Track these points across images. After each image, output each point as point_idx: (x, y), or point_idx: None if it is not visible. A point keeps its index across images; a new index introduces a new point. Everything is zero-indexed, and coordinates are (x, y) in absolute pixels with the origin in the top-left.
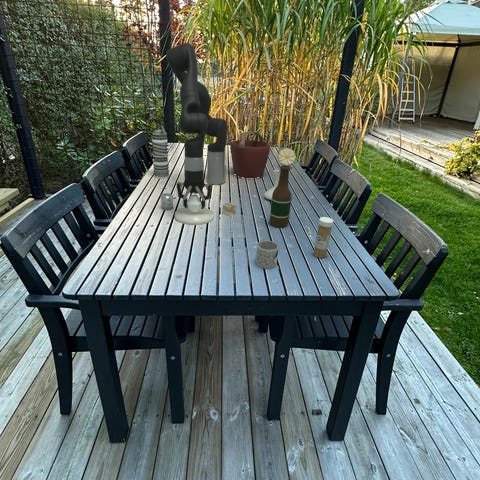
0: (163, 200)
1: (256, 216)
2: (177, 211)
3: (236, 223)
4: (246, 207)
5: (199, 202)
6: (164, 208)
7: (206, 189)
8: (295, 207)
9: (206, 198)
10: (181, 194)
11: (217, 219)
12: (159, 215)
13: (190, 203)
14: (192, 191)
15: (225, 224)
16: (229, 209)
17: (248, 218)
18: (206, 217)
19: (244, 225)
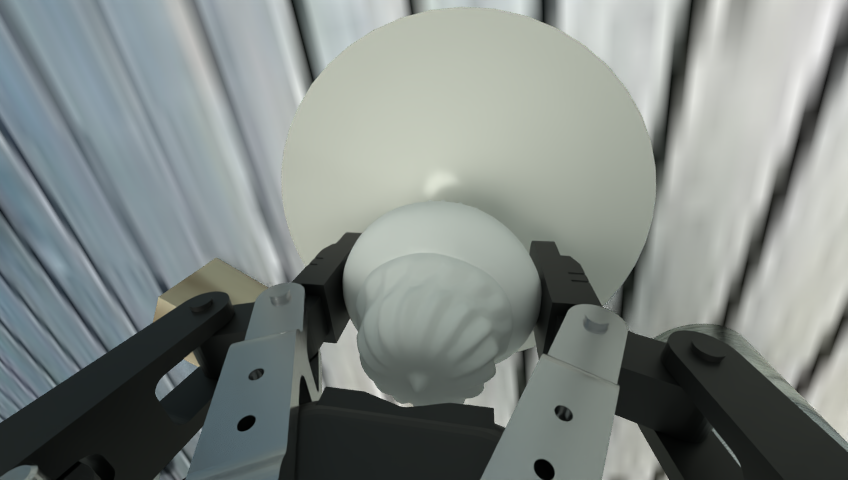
0: (809, 410)
1: (78, 264)
2: (619, 261)
3: (116, 132)
4: (187, 371)
5: (354, 266)
6: (735, 338)
7: (94, 477)
8: (2, 371)
9: (225, 305)
10: (672, 414)
11: (269, 190)
12: (805, 216)
13: (478, 230)
14: (429, 444)
15: (175, 96)
16: (180, 288)
17: (98, 231)
18: (325, 153)
19: (49, 102)
